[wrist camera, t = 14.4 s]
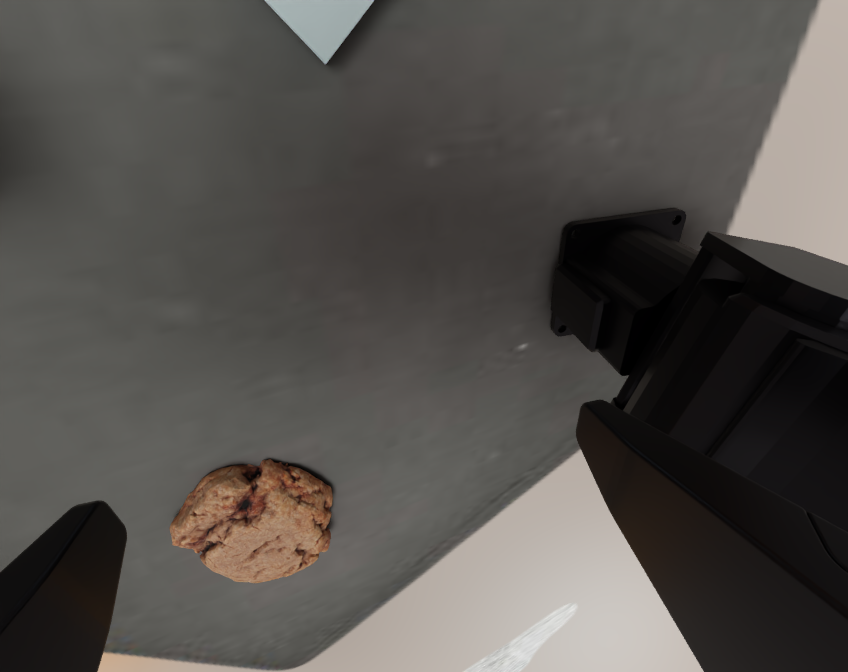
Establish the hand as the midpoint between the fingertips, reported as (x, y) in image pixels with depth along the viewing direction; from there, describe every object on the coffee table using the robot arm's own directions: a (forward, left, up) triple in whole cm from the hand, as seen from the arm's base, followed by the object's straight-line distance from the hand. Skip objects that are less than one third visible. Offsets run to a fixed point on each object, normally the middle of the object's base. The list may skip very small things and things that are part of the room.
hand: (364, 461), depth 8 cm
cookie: (+8, +18, -14) cm, 24 cm away
